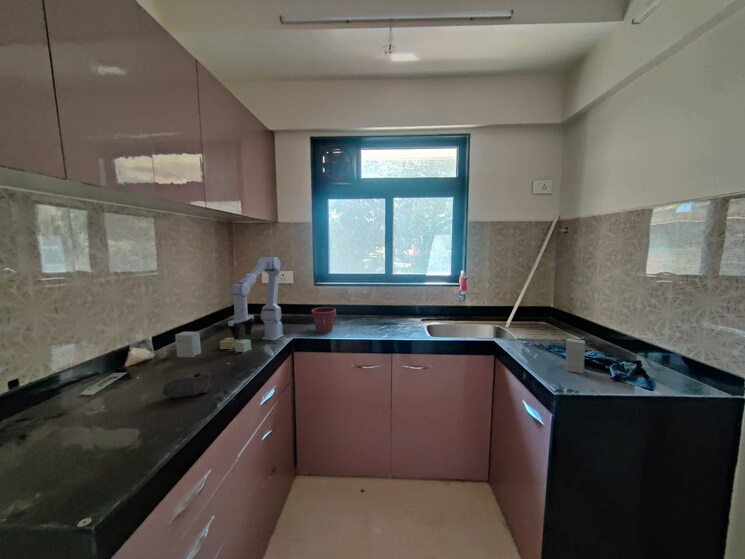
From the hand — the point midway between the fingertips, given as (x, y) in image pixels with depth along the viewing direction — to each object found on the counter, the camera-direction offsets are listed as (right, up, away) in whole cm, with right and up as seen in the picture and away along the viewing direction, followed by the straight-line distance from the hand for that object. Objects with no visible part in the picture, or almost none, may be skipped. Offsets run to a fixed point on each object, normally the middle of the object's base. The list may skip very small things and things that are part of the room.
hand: (242, 337), depth 143 cm
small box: (-23, -8, -4) cm, 24 cm away
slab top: (-9, -5, +6) cm, 12 cm away
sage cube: (0, -7, +1) cm, 7 cm away
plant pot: (+33, -3, +35) cm, 48 cm away
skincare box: (+141, -8, -25) cm, 143 cm away
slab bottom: (-9, -7, +6) cm, 12 cm away
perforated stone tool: (+1, -12, -42) cm, 44 cm away
